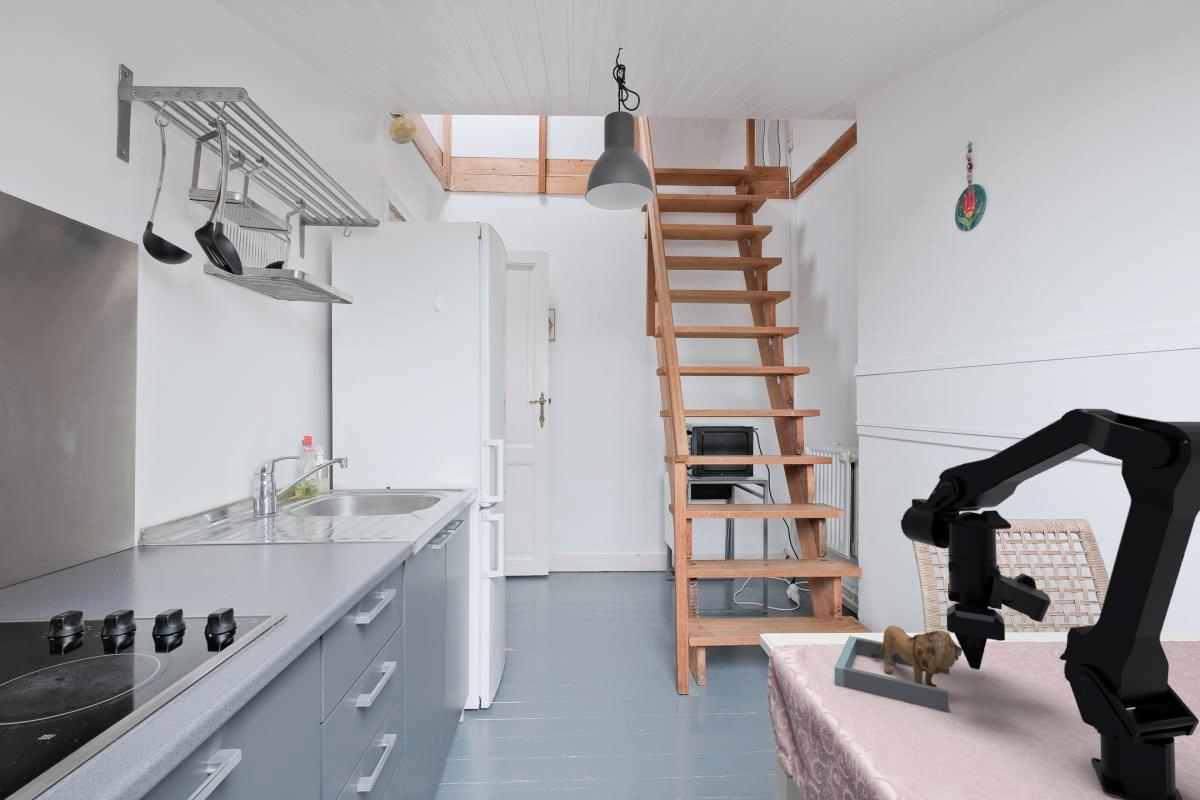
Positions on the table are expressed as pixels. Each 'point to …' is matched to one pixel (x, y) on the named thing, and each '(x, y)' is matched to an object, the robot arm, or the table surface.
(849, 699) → the table surface
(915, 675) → the lion figurine
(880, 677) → the chassis bay
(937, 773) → the table surface
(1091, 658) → the robot arm
